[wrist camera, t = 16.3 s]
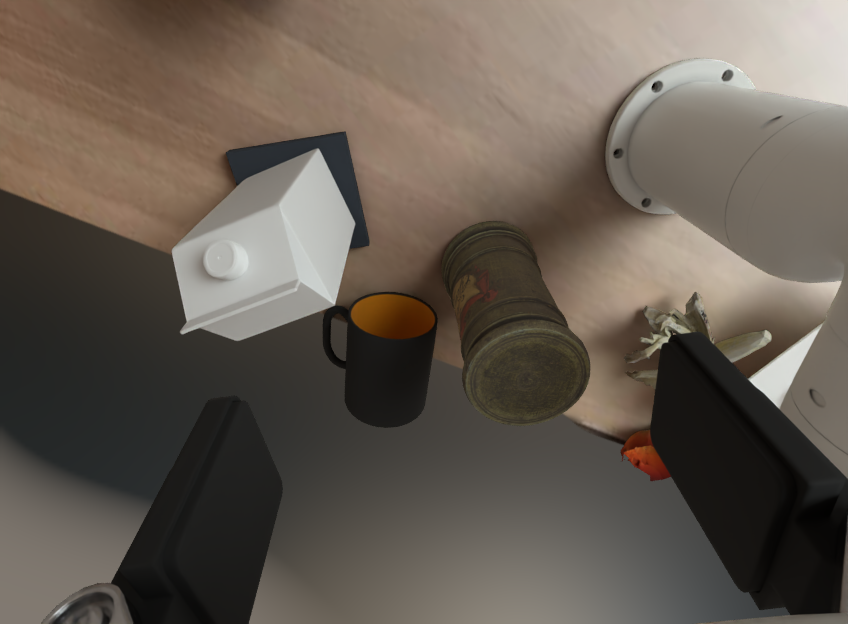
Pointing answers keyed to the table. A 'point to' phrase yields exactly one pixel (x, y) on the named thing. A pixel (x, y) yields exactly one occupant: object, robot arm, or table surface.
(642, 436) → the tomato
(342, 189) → the slate mat
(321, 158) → the milk carton
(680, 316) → the pale green plant
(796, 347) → the igloo
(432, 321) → the mug
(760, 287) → the table surface
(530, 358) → the container
